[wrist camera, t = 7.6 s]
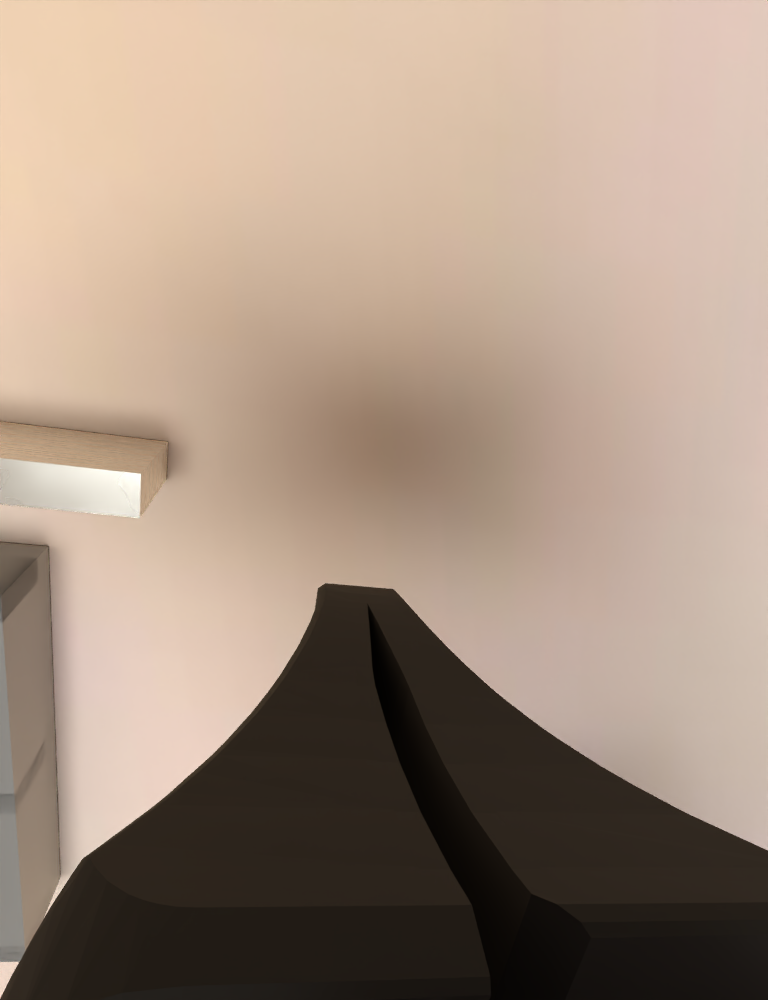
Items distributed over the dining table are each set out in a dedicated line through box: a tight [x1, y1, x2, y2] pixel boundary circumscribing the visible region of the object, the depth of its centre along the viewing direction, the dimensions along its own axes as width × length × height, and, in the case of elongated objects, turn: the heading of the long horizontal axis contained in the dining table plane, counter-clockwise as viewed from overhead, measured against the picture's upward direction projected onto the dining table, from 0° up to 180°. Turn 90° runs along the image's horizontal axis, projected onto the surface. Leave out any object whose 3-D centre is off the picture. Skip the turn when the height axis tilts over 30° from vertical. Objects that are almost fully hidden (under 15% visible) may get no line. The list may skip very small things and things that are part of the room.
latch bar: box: [0, 421, 168, 518], centre depth 16 cm, size 6×1×3 cm, turn 81°
